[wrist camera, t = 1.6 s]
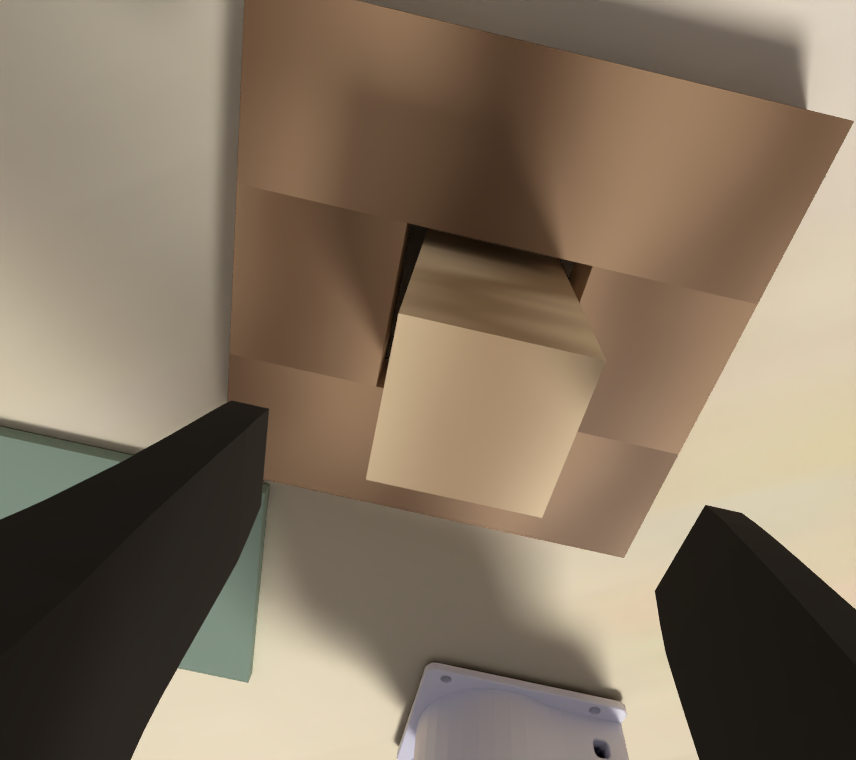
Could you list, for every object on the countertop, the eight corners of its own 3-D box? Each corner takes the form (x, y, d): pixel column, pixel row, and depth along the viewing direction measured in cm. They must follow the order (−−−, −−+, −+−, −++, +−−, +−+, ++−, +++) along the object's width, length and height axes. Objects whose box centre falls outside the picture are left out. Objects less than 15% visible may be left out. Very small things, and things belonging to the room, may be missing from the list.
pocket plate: (808, 116, 14) (854, 120, 13) (611, 518, 21) (623, 557, 19) (274, -13, 14) (245, -27, 12) (246, 437, 21) (224, 470, 19)
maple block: (558, 258, 17) (606, 360, 10) (520, 373, 18) (542, 517, 12) (428, 228, 16) (398, 313, 10) (403, 347, 18) (365, 479, 12)
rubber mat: (269, 485, 22) (264, 493, 21) (251, 673, 27) (247, 682, 27) (-40, 417, 21) (-51, 424, 21) (8, 622, 27) (0, 631, 26)
